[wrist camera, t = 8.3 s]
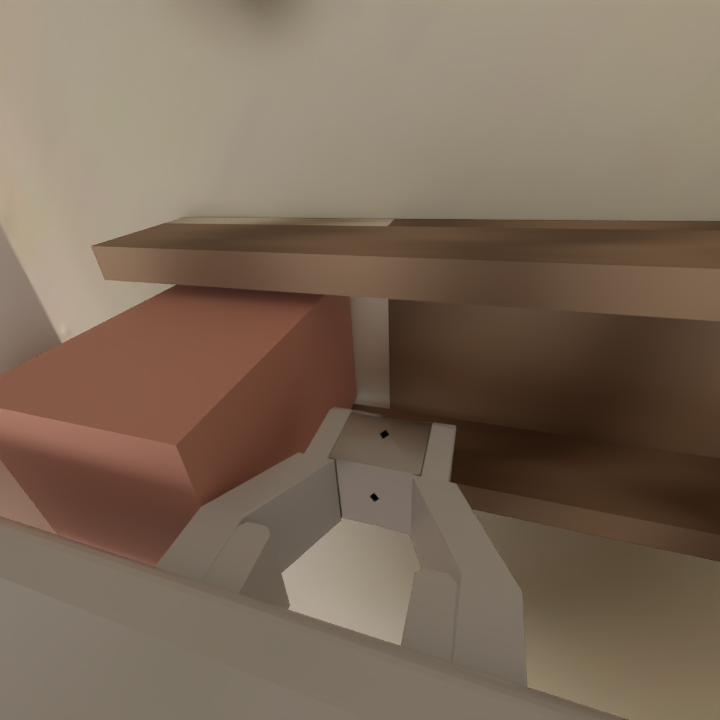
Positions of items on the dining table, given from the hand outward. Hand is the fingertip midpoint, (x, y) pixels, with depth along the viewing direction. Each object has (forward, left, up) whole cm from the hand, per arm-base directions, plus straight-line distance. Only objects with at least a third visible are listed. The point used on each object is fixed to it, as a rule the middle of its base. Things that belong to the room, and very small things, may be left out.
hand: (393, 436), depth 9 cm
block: (+5, 0, -5) cm, 7 cm away
